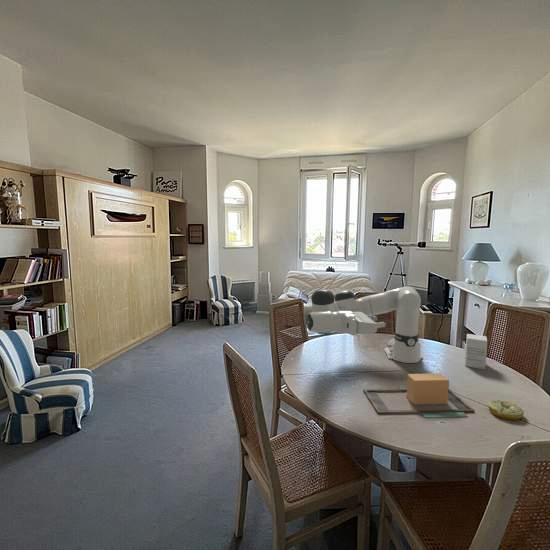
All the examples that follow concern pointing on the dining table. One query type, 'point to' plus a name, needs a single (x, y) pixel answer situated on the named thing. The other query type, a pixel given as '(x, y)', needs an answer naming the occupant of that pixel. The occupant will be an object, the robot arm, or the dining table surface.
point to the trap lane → (452, 397)
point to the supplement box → (476, 351)
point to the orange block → (427, 388)
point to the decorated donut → (506, 409)
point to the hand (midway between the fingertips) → (380, 321)
